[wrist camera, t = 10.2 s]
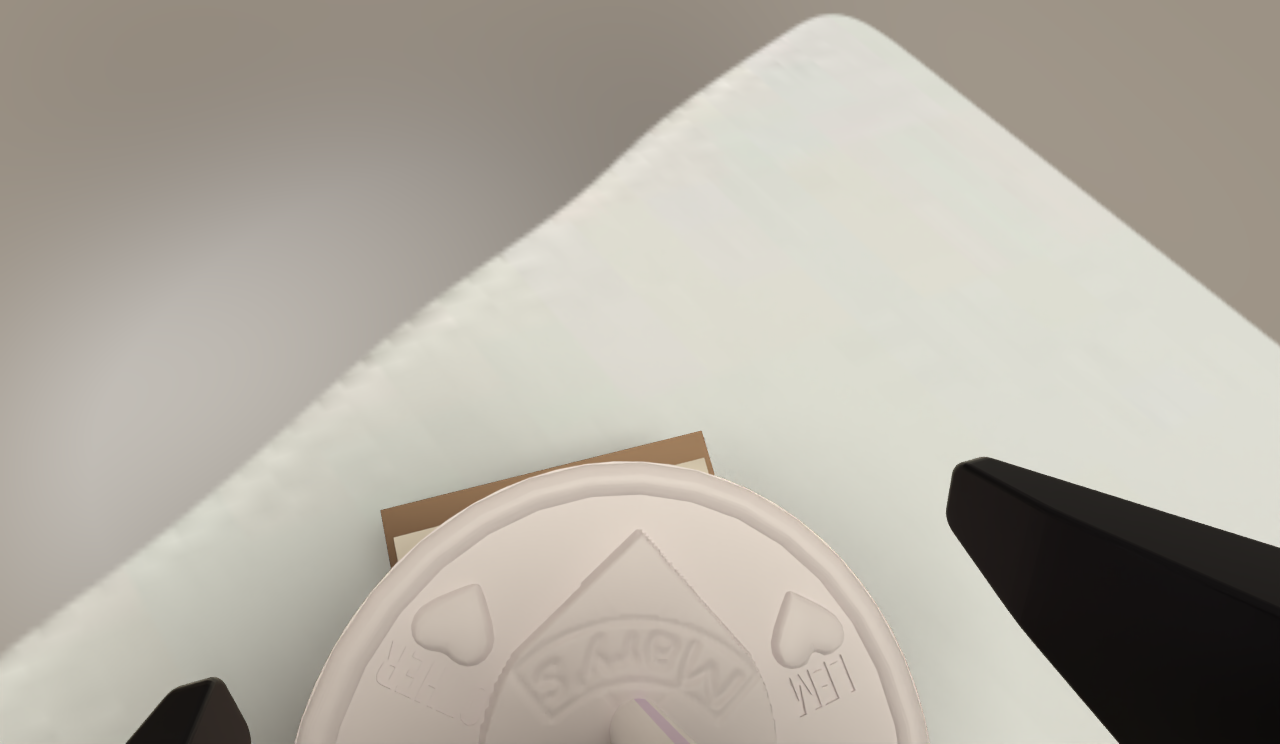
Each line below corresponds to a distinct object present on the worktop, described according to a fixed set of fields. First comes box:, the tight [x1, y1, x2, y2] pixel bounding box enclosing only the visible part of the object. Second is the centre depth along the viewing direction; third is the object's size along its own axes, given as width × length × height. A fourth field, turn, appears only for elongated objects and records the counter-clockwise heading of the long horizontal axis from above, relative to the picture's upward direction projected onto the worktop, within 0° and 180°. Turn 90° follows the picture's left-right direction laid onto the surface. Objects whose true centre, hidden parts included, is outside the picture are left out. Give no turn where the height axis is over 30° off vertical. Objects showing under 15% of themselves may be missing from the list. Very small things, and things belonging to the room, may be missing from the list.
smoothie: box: [294, 461, 930, 744], centre depth 9 cm, size 6×6×14 cm
